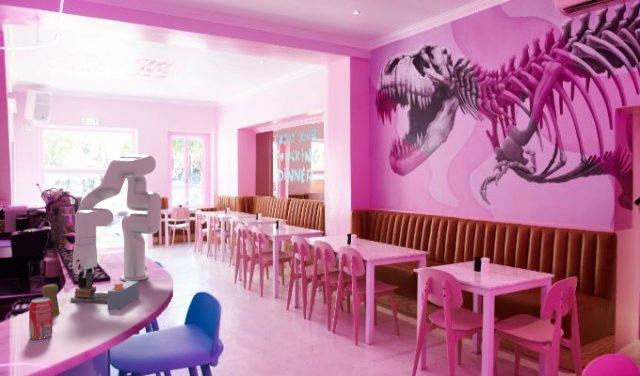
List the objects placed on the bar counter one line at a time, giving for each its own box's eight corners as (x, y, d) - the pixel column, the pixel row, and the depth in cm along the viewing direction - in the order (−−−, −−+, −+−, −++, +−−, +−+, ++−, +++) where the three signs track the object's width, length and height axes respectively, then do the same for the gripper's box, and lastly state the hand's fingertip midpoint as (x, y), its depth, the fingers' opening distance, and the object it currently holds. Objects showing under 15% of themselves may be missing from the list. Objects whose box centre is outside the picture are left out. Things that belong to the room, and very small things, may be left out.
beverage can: (36, 333, 144) (35, 296, 143) (56, 333, 144) (56, 296, 144) (25, 340, 137) (24, 302, 137) (46, 340, 138) (45, 302, 137)
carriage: (82, 293, 181) (82, 271, 181) (96, 294, 181) (96, 271, 181) (75, 297, 177) (75, 273, 177) (89, 297, 177) (89, 274, 176)
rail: (79, 297, 182) (79, 289, 182) (124, 299, 181) (124, 290, 181) (70, 301, 176) (70, 293, 176) (116, 303, 175) (116, 295, 175)
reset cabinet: (127, 297, 184) (127, 280, 183) (138, 298, 183) (138, 281, 183) (107, 309, 169) (107, 290, 168) (120, 309, 168) (120, 291, 168)
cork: (50, 318, 158) (50, 287, 157) (36, 316, 159) (36, 286, 158) (63, 312, 164) (63, 283, 163) (49, 311, 165) (49, 282, 164)
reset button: (116, 297, 174) (117, 282, 173) (124, 297, 173) (124, 282, 173) (112, 299, 171) (112, 284, 170) (120, 300, 170) (120, 284, 170)
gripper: (88, 237, 187) (89, 280, 187) (63, 244, 170) (63, 291, 171) (106, 238, 186) (106, 280, 187) (82, 244, 169) (82, 291, 170)
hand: (85, 285), depth 179 cm, fingers closed on carriage, 4 cm apart
